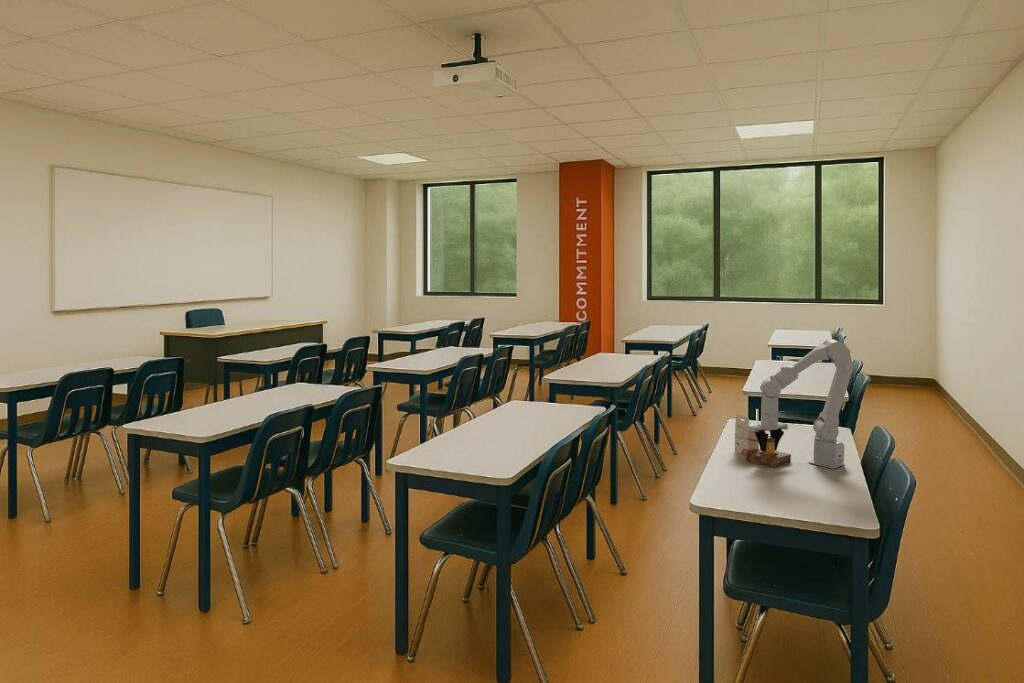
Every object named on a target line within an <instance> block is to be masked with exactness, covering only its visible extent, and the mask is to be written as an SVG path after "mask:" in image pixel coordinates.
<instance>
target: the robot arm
mask: <svg viewBox="0 0 1024 683" xmlns="http://www.w3.org/2000/svg"><path fill="white" fill-rule="evenodd" d="M829 360H830V361H831V362H832V364H833V365H834V367H835V372H834V374H833V377H832V378H833V379H832V381H831V383H830V384H831V385H830V387H829V390H828V394H827V397H826V400H825V403H824V407H823V410H822V411H821V412H820V413H819V415H818V418H817V419H816V420H815V421H814V422H813V430H814V432H815V435H814V437H813V438H814V439H813V442H814V443H813V460H808V461H807V463H808V464H811V465H816V466H820V467H825V468H829V469H832V470H833V469H836V468H837V469H838V468H839V467H842V466H845V465H846V463H845V462H844V461H845V445H844V443H843V442H841V441H838V437H839V432H840V431H839V424H840V418H839V414H840V411H841V409H842V405H843V402H844V400H845V399H844V398H845V395H846V392H847V390H848V386H849V383H850V380H851V377H852V373H853V372H854V364H853V360H852V356H851V350H850V348H848V346H847V345H846V344H845V343H844V342H842V341H838V340H837V339H834V338H828V339H826V340H824V341H823V343H820V344H818V345H817V346H816V347H814V348H813V349H812V350H811V351H809V352H808V353H807V354H805V355H804V356H803V357H802V358H800V360H799V359H798V361H797V362H795V363H794V364H793V365H786V366H781V367H780V368H779V371H777V372H776V373H775V374H774V375H772V374H771V375H770V376H769V378H767V379H765V380H763V381H762V382H761V383H760V387H759V389H760V391H761V392H762V393H761V404H760V405H761V406H760V407H761V408H760V424H756V425H755V426H750V432H753V433H755V435H756V437H757V439H758V442H759V449H760V450H761V451H763V452H766V443H767V438H768V436H772V437H775V451H778V447H779V443H780V441H781V439H782V437H783V435H784V434H785V431H784V430H788V429H789V424H788V423H785V422H782V423H781V422H780V423H779V396H780V394H781V391H782V390H784V389H785V388H787V387H788V386H790V385H791V384H792V383H794V382H795V381H796V380H798V378H799V374H800V373H801V372H803V371H804V370H806V369H808V368H809V367H810V366H812V365H814V364H815V363H816V362H819V361H829ZM767 432H769V433H767Z"/></svg>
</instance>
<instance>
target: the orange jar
mask: <svg viewBox="0 0 1024 683" xmlns="http://www.w3.org/2000/svg"><path fill="white" fill-rule="evenodd" d="M775 451H776V450H775V437H772V436H770V435H768V438H767V443H766V452H763V455H766V456H770V457H771V456H775Z"/></svg>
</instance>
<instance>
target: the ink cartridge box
mask: <svg viewBox="0 0 1024 683" xmlns="http://www.w3.org/2000/svg"><path fill="white" fill-rule="evenodd" d="M742 419H743V420H742ZM734 422H735V424H734V425H735V426H734V428H735V430H734V431H735V432H734V453H737V454H740V455H741V456H744V457H746V453H748V452H752V451H755V450H758V449H760V446H759V442H758V439H757V437H756V435H755V433H753V432H750V426H755V425H757V424H756V423H753V422H751V421H750V418H749V417H746V416H744V415H741V414H739V413H738V414H735V421H734Z"/></svg>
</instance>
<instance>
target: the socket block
mask: <svg viewBox="0 0 1024 683" xmlns="http://www.w3.org/2000/svg"><path fill="white" fill-rule="evenodd" d="M745 462H746V463H747V462H748V463H751V464H755V465H759V466H764V467H767V468H771V469H775V468H778V467H781V466H784V465H787V464H790V463H791V462H792V454H791V453H788V452H783V451H779V450H775V456H771V457H770V456H766V455H763V451H761V450H760V448H759V449H758V450H755V451H752V452H748V453H746V456H745Z"/></svg>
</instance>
